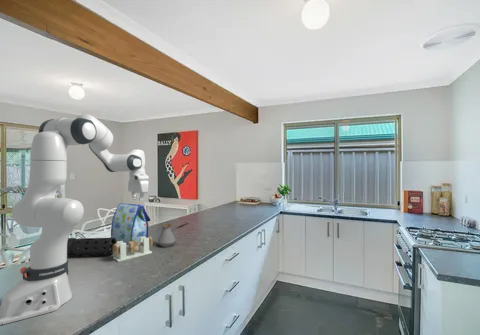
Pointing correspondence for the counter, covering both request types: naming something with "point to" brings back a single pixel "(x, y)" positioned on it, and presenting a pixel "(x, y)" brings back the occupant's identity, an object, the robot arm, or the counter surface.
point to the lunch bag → (129, 223)
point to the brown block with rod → (131, 246)
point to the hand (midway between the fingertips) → (137, 200)
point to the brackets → (143, 251)
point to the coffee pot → (168, 235)
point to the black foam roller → (90, 246)
